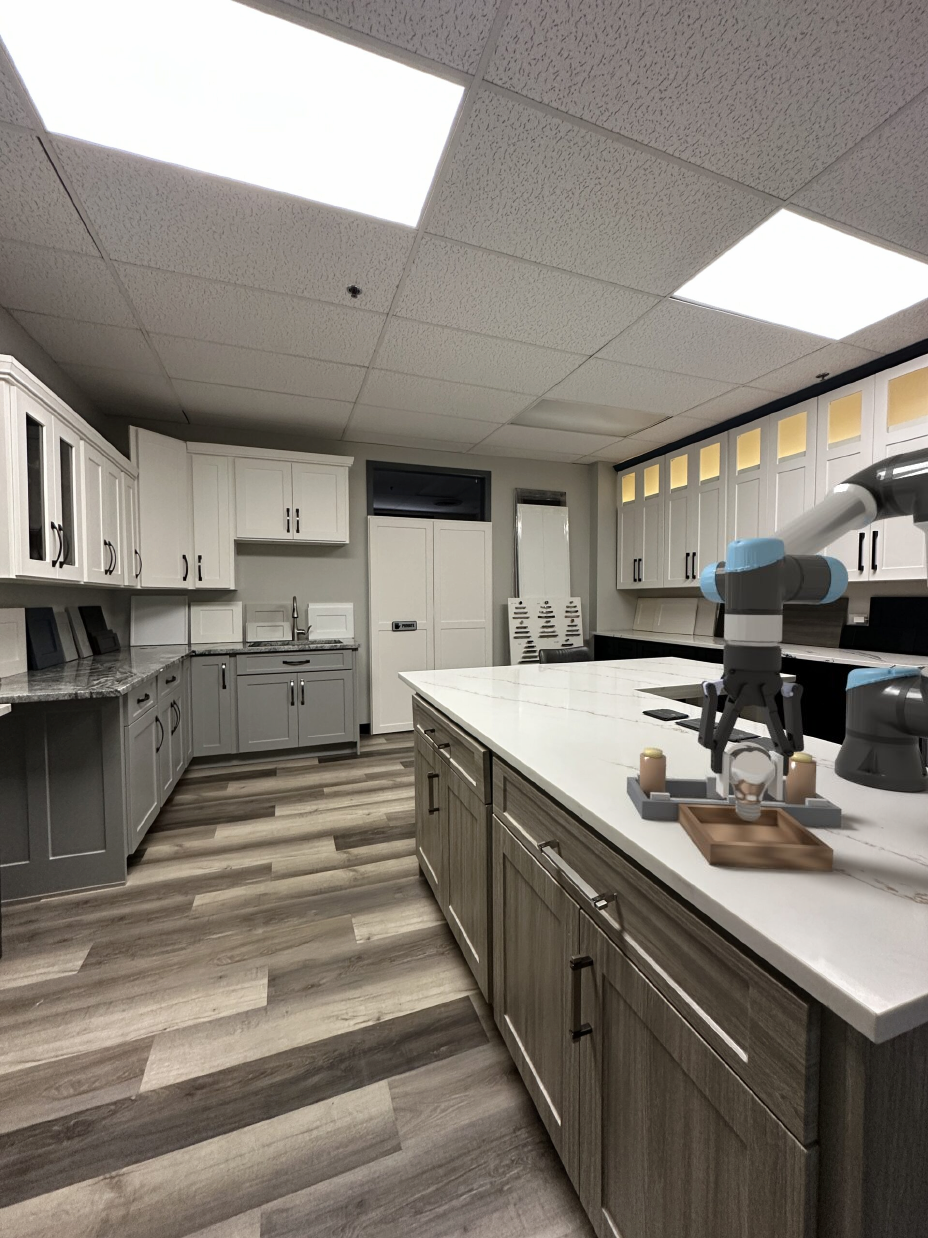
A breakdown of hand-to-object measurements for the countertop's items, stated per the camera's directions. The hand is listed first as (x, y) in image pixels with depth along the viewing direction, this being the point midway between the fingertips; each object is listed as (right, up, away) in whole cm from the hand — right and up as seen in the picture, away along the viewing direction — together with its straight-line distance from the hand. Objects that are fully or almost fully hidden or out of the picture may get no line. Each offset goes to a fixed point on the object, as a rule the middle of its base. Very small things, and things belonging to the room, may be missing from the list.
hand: (748, 795), depth 77 cm
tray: (0, -7, 0) cm, 8 cm away
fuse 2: (+16, -7, +12) cm, 21 cm away
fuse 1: (-9, -7, +15) cm, 19 cm away
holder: (+3, -7, +14) cm, 16 cm away
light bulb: (0, -4, 0) cm, 4 cm away
